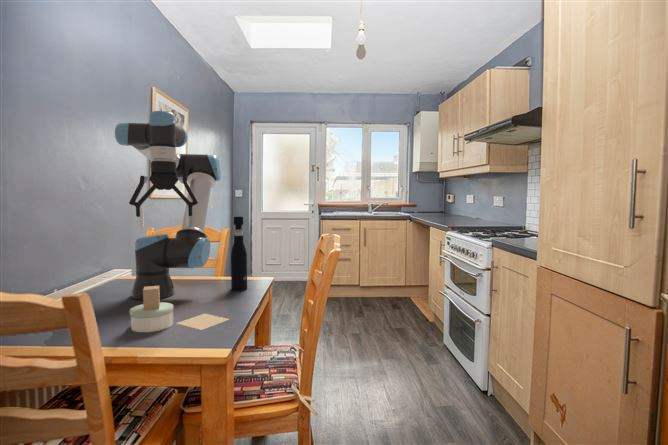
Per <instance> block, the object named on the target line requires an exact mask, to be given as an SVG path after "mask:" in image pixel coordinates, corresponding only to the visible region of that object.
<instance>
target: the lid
mask: <svg viewBox="0 0 668 445" xmlns="http://www.w3.org/2000/svg"><path fill="white" fill-rule="evenodd" d="M160 299H161V298H160V291H159V286H147V287H144V289H143V300H142V301H143V303H142V304H139V305H135V306H133V307H131V308H130V309H129V316H130V318H131V317H134V318H154V317H160V316H164V315H167V314H169V313H171V312H173V313H174V310H175V309H174V304H172V303H171V302H162V301H161V300H160Z"/></svg>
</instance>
